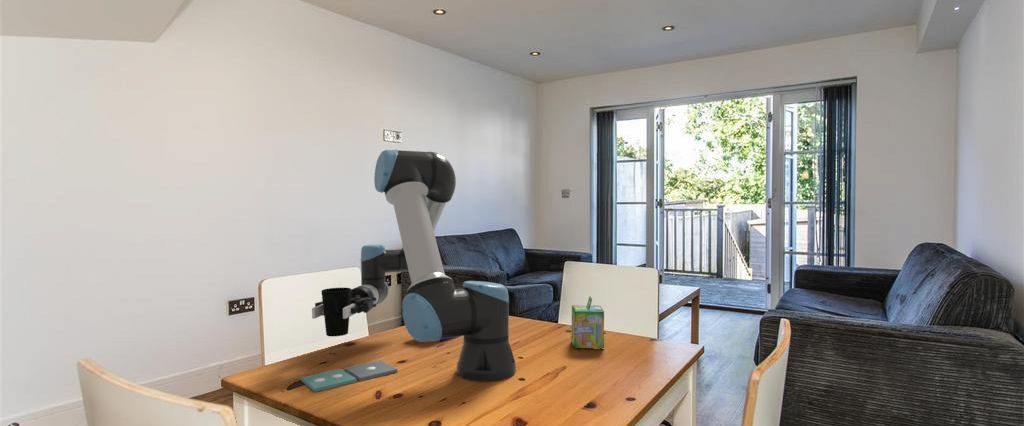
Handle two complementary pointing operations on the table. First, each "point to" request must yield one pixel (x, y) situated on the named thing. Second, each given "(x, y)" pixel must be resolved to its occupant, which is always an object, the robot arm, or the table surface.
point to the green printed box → (587, 326)
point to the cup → (336, 310)
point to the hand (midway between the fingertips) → (328, 313)
